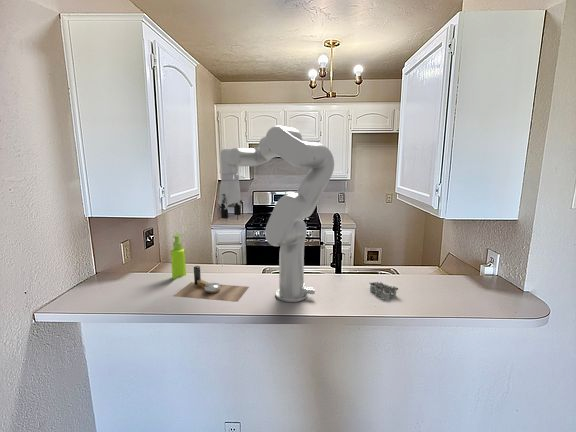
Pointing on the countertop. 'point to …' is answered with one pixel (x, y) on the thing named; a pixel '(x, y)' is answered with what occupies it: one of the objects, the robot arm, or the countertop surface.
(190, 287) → the brown flat rectangular board
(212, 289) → the ice cream scoop
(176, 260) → the soap dispenser
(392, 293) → the rough grey rock
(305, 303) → the countertop surface
